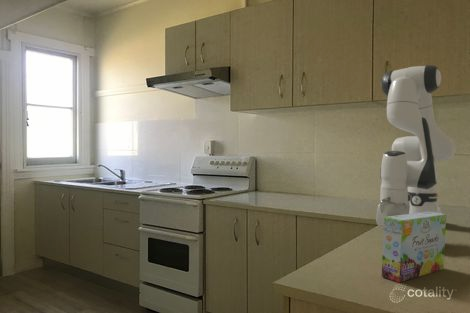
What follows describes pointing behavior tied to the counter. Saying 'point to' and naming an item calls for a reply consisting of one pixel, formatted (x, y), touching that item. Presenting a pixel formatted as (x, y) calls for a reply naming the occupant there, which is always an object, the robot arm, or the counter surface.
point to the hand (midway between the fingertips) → (392, 236)
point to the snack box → (413, 245)
